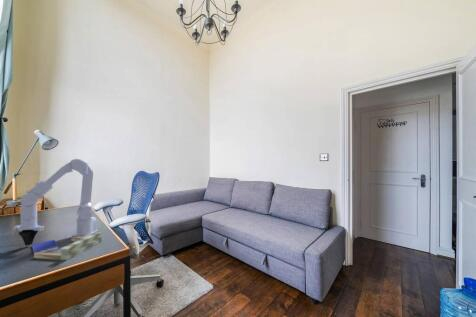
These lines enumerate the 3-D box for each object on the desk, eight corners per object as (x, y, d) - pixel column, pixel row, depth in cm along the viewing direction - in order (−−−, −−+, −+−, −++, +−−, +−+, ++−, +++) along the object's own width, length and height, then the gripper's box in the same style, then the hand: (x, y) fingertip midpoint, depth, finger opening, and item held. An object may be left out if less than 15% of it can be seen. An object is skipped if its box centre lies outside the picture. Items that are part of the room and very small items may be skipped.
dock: (74, 239, 105) (74, 230, 105) (101, 241, 104) (101, 232, 104) (34, 258, 86) (34, 246, 86) (67, 260, 85) (67, 248, 85)
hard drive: (58, 246, 95) (54, 239, 103) (34, 252, 89) (32, 244, 97) (58, 249, 95) (54, 242, 103) (34, 256, 89) (32, 247, 97)
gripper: (5, 219, 93) (5, 247, 93) (32, 220, 92) (32, 249, 92) (23, 215, 100) (23, 241, 100) (48, 216, 99) (48, 242, 99)
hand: (28, 244), depth 97 cm, fingers closed
